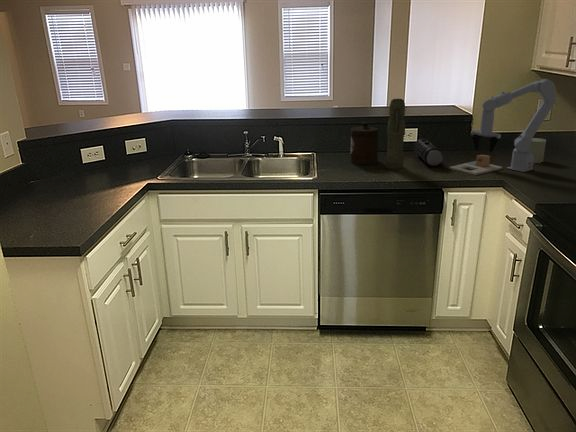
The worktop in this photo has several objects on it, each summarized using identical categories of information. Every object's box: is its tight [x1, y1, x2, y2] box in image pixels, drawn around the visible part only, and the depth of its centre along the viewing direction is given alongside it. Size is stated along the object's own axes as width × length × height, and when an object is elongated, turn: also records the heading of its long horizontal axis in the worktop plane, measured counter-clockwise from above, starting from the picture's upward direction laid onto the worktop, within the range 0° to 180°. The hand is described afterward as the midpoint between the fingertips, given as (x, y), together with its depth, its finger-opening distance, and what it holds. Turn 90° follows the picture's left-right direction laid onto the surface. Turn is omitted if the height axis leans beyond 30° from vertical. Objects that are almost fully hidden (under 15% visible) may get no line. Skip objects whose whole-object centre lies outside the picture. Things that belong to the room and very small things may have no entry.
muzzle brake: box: [413, 138, 444, 167], centre depth 257 cm, size 10×28×10 cm, turn 178°
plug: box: [475, 154, 491, 168], centre depth 243 cm, size 4×5×6 cm
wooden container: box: [350, 121, 379, 165], centre depth 260 cm, size 15×15×22 cm
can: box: [529, 137, 547, 164], centre depth 250 cm, size 9×9×12 cm
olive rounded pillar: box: [385, 98, 406, 171], centre depth 243 cm, size 9×12×35 cm
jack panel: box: [449, 160, 503, 176], centre depth 242 cm, size 16×20×1 cm
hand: (483, 150), depth 241 cm, fingers open, 7 cm apart
